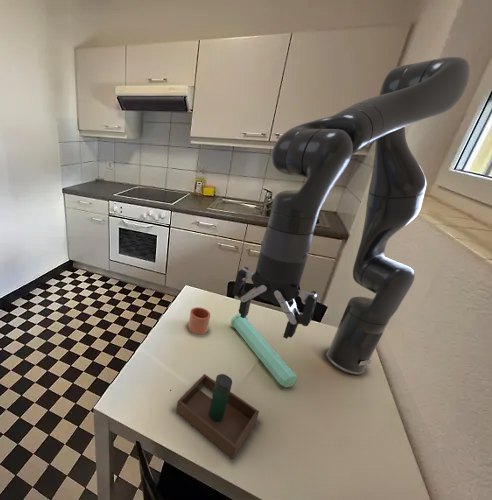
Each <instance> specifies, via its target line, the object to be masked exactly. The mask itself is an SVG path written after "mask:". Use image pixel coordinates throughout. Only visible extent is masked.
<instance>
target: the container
mask: <svg viewBox="0 0 492 500" xmlns="http://www.w3.org/2000/svg"><path fill="white" fill-rule="evenodd" d="M240 316H241V314H239V313H238V314H236V315H235V316H233V317H232V318H231V319H230V320H231V321H230V326H231V328H233V329H235V330H236V331H237V333H238V334H239V335H240V337H242V339H243V340H244V342H245V343H246V344H247V345H248V346H249V348H250V349H251V351H252V352H254V354H255V355H256V356H257V358H258V359H259V360H260V362H261V363H262V364H263V365H264V366H265V368H266V369H267V370H268V371H269V373H270V374H271V375H272V376H273V378H274V379H275V380H276V382H277V383H278V384H279V385H280V386H281V387H284V388H290V387H292V386H294V385H295V384H296V383H297V380H298V377H297V374H296V373H295V372H294V371H293V370H292V369H291V367H290V366H289V365H288V364H287V363H286V362H285V361H284V360H283V359H282V357H281V356H280V355H279V354H278V353H277V351H276V350H275V349H273V347H272V346H271V345H270V344H269V343H268V342H267V341H266V340H265V338H264V337H263V336H262V335H261V334H260V333H259V332H258V330H256V328H255V327H254V325H252V324H251V322H249V319H248V317H247V316H246V317H245V318H242V317H240Z"/></svg>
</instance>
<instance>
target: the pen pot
mask: <svg viewBox="0 0 492 500" xmlns="http://www.w3.org/2000/svg"><path fill="white" fill-rule="evenodd" d="M210 319H211V313H210V311H209V310H208V309H206V308H204V307H198V306H197V307H193V308H192V309H190V313H189V318H188V324H187V325H188V326H187V327H188V329H189V331H190V332H191V333H193V334H196V335H205V334H206V333H207V332H208V330H209V325H210Z"/></svg>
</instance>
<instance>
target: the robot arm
mask: <svg viewBox="0 0 492 500" xmlns="http://www.w3.org/2000/svg"><path fill="white" fill-rule="evenodd" d="M470 73H471V69H470V64H469V61H467V59H465V58H463V57H461V56H445V57H440V58H435V59H429V60H424V61H420V62H419V61H418V62H414V63H408V64H403V65H400V66H396V67H394V68H392V70H390V71H389V72H388V73H387V75H386V76H385V78H384V79H383V82H382V84H381V87H380V90H379V94H378V95H376V96H372V97H369V98H366V99H364V100H361V101H359V102H356V103H354V104H352V105H350V106H348V107H347V108H345V109H342V110H341V111H339V112H336V113H335V114H333V115H331V116H327V117H323V118H319V119H315V120H311V121H308V122H305V123H302V124H298V125H296V126H293V127H291V128H289V129H288V130H287V131H285V132H284V133H283V134H282V135H281V136H279V138H278V139H277V141H276V142H275V143H274V145H273V147H272V151H271V163H272V165H273V167H274V168H275V169H276V171H278V172H279V173H281V174H284V175H286V176H287V175H288V176H294V177H299V178H305V179H306V180H305V182H304V183H303V185H301V187H300V188H299V189H298V190H297V189H293V190H292V189H291V190H290V189H289V190H282V191H279V192H278V193H277V194H276V195H275V196H274V198H273V200H272V205H271V209H270V213H269V218H268V222H267V226H266V229H265V232H264V234H263V237H262V241H261V243H260V249H259V250H260V251H259V255H258V259H257V263H256V268H255V272H254V271H251V270H250V268H249V267H247V266H244V267H242V268H241V269H239V270H238V271H237V275H236V278H235V281H234V285H233V289H232V295H233V296H234V297H237V298H239V300H240V303H239V309H238V314H241V316H240V317H242V318H245V317H247V316H248V314H249V311H250V307H251V303H252V299H254V298H256V297H257V296H258V297H260V299H261V300H263V301H266V302H270V303H271V304H273V305H275V306H280V307H281V310H282V312H283V313H284V314H285V315H286V318H287V319H288V320H287V322H286V326H285V329H284V332H283V336H282V338H283V339H286V340H288V339H289V338H292V337H293V336H294V335H295V333H296V331H297V328H298V326H299V325H301V326H303V327H308V326H309V324H310V323H311V322H312V320H313V317H314V314H315V309H316V307H317V301H318V298H319V293H318V292H317V291H315V290H312V291H307V290H303V289H301V280H302V278H303V274H304V271H305V267H306V263H307V260H308V257H309V255H310V251H311V247H312V242H313V237H314V236H313V235H314V232H315V229H316V225H317V222H318V218H319V215H320V212H321V209H322V207H323V205H324V203H325V201H326V200H327V198H328V197H329V195H330V193H331V192H332V190H333V188H334V187H335V185H336V183H338V181H339V179H340V178H341V176H342V175H343V173H344V172H345V171H346V169H347V167H348V165H349V164H350V161H351V159H352V156H353V155H355V154H356V153H357V152H359V151H361V150H363V149H364V148H366V147H368V146H370V145H371V144H373V143H374V142H375V149H374V156H373V164H372V170H371V171H372V172H371V178H370V182H369V188H368V194H367V200H366V209H365V217H364V223H363V229H362V234H361V238H360V243H359V246H358V249H357V254H356V256H355V260H354V263H353V268H352V278H353V280H354V282H355V283H356V284H358V286H360V287H362V288H364V289H366V290H368V291H370V292H372V293H374V294H375V295H374V297H373V298H371V297H367V296H353V297H351V298H350V299H349V300H348V302H347V305H346V307H345V309H344V312H343V314H342V317H341V319H340V321H339V324H338V326H337V329H336V331H335V333H334V336H333V338H332V340H331V343H330V346H329V347H328V350H327V351H326V355H325V356H326V359H327V360H328V361H329V363H330V364H331V365H332V366H333V367H335V368H336V369H338V370H340V371H342V372H343V373H347V374H350V375H354V376H355V375H363V374H364V373H365V371H366V369H367V365H370V363H371V361H372V359H371V358H372V356H373V354H374V352H375V351H376V349H377V346H378V344H379V342H380V340H381V338H382V336H383V334H384V332H385V330H386V328H387V326H388V324H389V323H390V320H391V319H392V317H393V316H394V315H395V313H396V312H397V311H398V309H399V307H400V306H401V304H402V302H403V301H404V299H405V297H406V296H407V294H408V293H409V291H410V289H411V287H412V286H413V284H414V281H415V278H416V277H415V275H416V274H415V270H414V269H413V268H412V267H410V266H408V265H406V264H404V263H401V262H399V261H397V260H394V259H392V258H389V257H387V256H386V255H385V254H386V253H385V250H386V247H387V244H388V242H389V240H390V239H391V238H392V237H393V236H394V235H395V234H396V233H398V232H400V231H401V230H402V229H403V228H405V227H406V226H407V225H408V224H410V223H411V222H412V221H413V220H414V219H415V218H417V216H418V215H419V213H420V211H421V209H422V205H423V201H424V196H425V193H426V188H427V178H426V176H425V173H424V171H423V169H422V167H421V165H420V164H419V162H418V161H417V159H416V157H415V156H414V154H413V152H412V151H411V149H410V147H409V145H408V142H407V139H406V127H408V126H410V125H412V124H415V123H418V122H420V121H423V120H425V119H429V118H432V117H435V116H438V115H442V114H444V113H447V112H449V110H452V108H453V107H454V106H455V105H457V104H458V102H459V101H460V100H461V98H462V97H463V95H464V93H465V90H467V87H468V83H469V78H470V75H471V74H470ZM250 279H251V282H252V285H253V286H254V287H253V288H252V289H250V290H249V291H245V285H246V284H247V283H246V282H247V281H249V280H250ZM297 297H299V298H300V299H301V303H302V304H303V305H304V307H303V311H302V313H300V312H299V309H298V308H297V303H296V300H295V299H296V298H297Z"/></svg>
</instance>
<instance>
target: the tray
mask: <svg viewBox="0 0 492 500" xmlns="http://www.w3.org/2000/svg"><path fill="white" fill-rule="evenodd" d="M215 381H216V380H214V379H212V378H211V377H210V376H209V375H207V374H206V373H203V374H202V375H201V377H199V378H198V380H197V381H196V382H195V383H194V384H193V385H192V386H191V387H190V388H189V389H187V391H186V392H185V393H184V394H183V395H182V396H181V397H180V398H179V399H178V400H177V404H176V410H175V412H176V413H177V414H178V415H180V417H182V418H183V419H184V420H185V421H187V422H188V423H189V424H190V425H191V426H193V427H194V428H195V429H196V430H197V431H199V432H200V433H201V434H202V435H203V436H205V438H206V439H208V440H209V441H210V442H212V443H213V444H214V445H215V446H216V447H217V448H219V449H220V450H221V452H223V453H225V454H226V455H227V456H228V457H229V458H230V459H232V460H234V459H235V457H236V455H237V453H238V452H239V450H240V449H241V447H242V445H243V444H244V442H245V440H246V439H247V437H248V435H249V434H250V432H251V431H252V429H253V427H254V425H256V423H257V419H258V417H259V414H260V410H258V409H257V408H255V407H254V406H252V405H251V404H249V403H248V402H246V401H245V400H244V399H242V398H241V397H239V396H238V395H236V394H235V393H233V392H232V391H230V393H229V397H228V401H227V404H226V408H225V412H224V416H223V419H222V421H220V422H215V421H213V420H212V419H211V418H210V416H209V410H210V405H211V401H212V397H211V396H208V395H207V394H206V393H205V392H203V391H202V390H201V388H202V387H203V386H204V387H206V388H207V389H209V390H210V391H211V392H212V393H213V392H214V387H215Z"/></svg>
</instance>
